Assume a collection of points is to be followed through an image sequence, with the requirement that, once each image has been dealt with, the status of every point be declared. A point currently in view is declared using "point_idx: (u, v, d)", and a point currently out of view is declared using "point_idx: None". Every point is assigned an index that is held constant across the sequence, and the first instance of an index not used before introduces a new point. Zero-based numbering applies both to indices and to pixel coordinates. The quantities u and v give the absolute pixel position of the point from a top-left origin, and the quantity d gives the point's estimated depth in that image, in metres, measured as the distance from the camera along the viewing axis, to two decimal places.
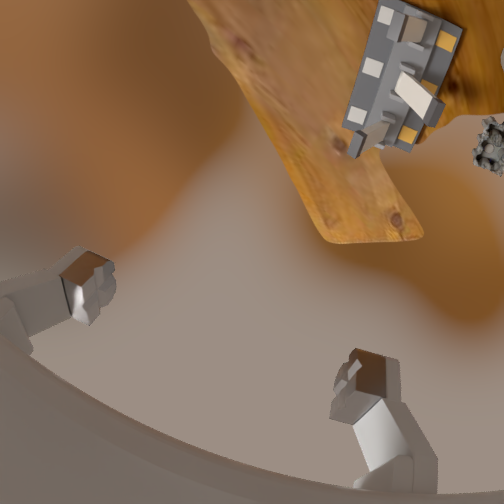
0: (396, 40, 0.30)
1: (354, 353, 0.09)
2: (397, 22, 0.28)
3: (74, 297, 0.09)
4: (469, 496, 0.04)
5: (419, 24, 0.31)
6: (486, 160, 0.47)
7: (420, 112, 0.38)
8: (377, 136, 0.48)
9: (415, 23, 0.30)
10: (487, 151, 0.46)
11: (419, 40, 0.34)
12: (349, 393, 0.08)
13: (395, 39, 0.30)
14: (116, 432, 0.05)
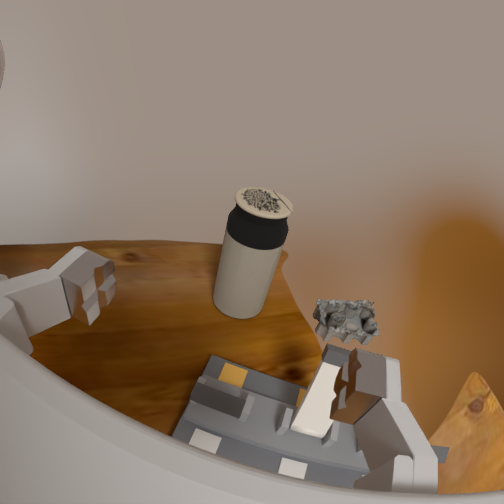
0: (243, 401, 0.23)
1: (354, 353, 0.09)
2: (210, 396, 0.23)
3: (74, 297, 0.09)
4: (469, 496, 0.04)
5: None
6: (366, 325, 0.50)
7: None
8: None
9: None
10: (355, 329, 0.50)
11: None
12: (349, 393, 0.08)
13: (241, 402, 0.23)
14: (116, 432, 0.05)
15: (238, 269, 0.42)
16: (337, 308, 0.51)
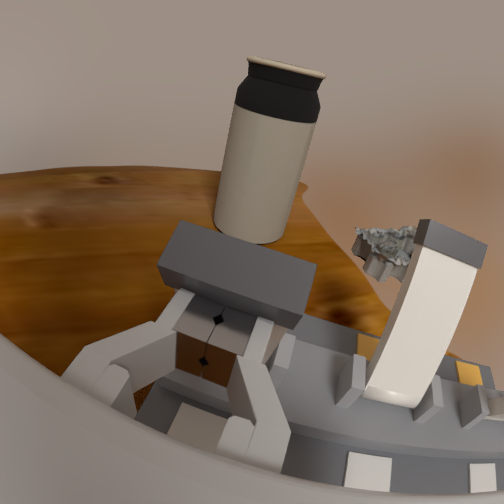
0: (308, 266, 0.09)
1: None
2: (217, 255, 0.09)
3: (190, 351, 0.08)
4: (469, 496, 0.04)
5: None
6: None
7: (463, 285, 0.15)
8: None
9: None
10: None
11: None
12: None
13: (304, 271, 0.09)
14: (116, 432, 0.05)
15: (252, 155, 0.27)
16: (381, 238, 0.36)
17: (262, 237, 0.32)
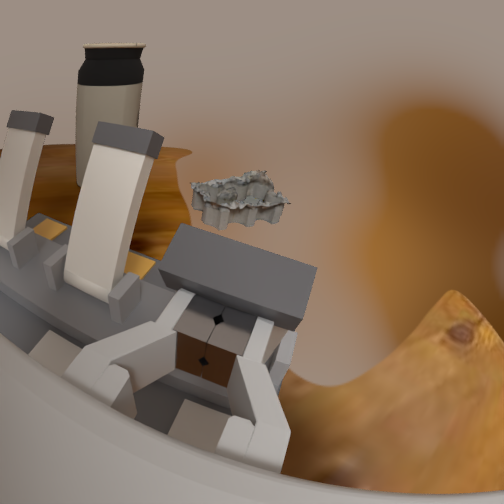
0: (51, 117, 0.19)
1: None
2: None
3: (190, 351, 0.08)
4: (469, 496, 0.04)
5: None
6: (267, 200, 0.39)
7: (131, 172, 0.17)
8: None
9: None
10: None
11: None
12: None
13: (49, 116, 0.19)
14: (116, 432, 0.05)
15: (83, 118, 0.30)
16: (221, 188, 0.38)
17: None
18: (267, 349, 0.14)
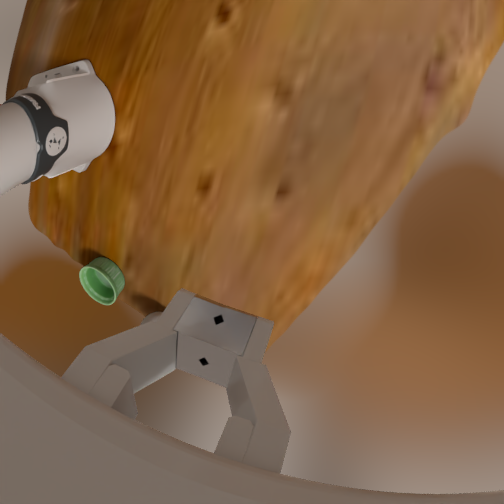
0: None
1: None
2: None
3: (190, 351, 0.08)
4: (469, 496, 0.04)
5: None
6: None
7: None
8: None
9: None
10: None
11: None
12: None
13: None
14: (116, 432, 0.05)
15: None
16: None
17: None
18: None
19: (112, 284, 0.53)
